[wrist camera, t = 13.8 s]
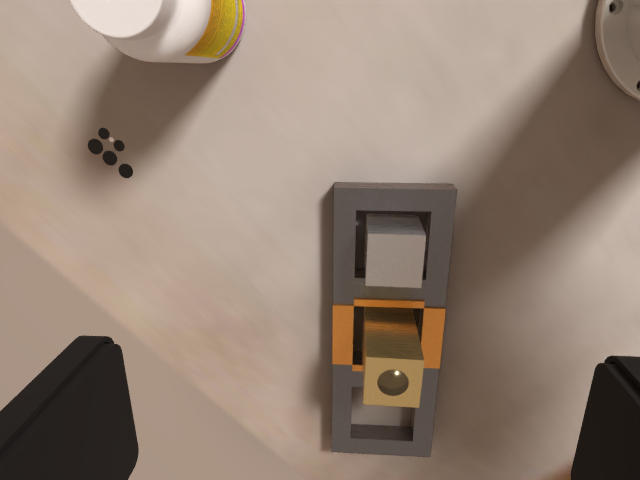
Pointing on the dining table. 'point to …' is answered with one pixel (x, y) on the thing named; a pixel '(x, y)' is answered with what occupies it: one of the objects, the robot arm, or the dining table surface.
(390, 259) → the block
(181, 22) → the supplement bottle
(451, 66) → the dining table surface
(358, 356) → the rail
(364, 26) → the dining table surface
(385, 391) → the brass nut
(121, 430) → the robot arm
